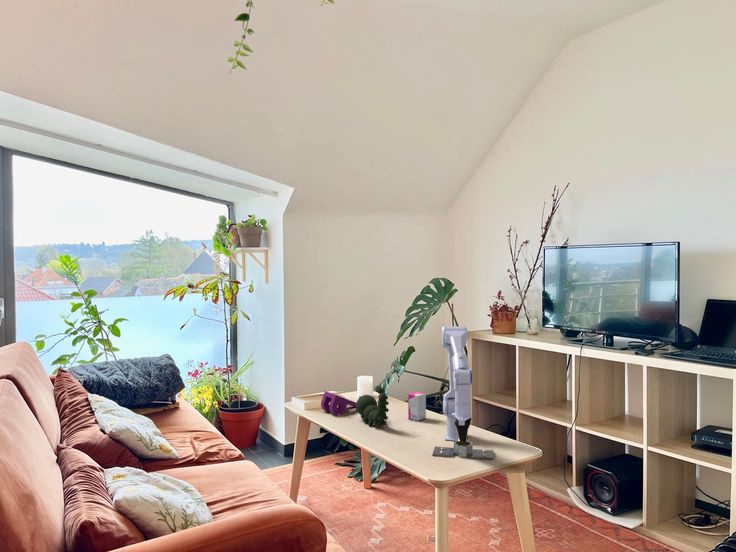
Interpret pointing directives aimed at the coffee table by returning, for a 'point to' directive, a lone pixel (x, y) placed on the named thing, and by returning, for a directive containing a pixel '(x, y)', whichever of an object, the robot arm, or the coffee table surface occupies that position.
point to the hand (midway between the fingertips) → (463, 439)
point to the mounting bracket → (335, 403)
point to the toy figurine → (373, 408)
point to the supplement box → (417, 406)
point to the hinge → (463, 451)
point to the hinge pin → (462, 442)
